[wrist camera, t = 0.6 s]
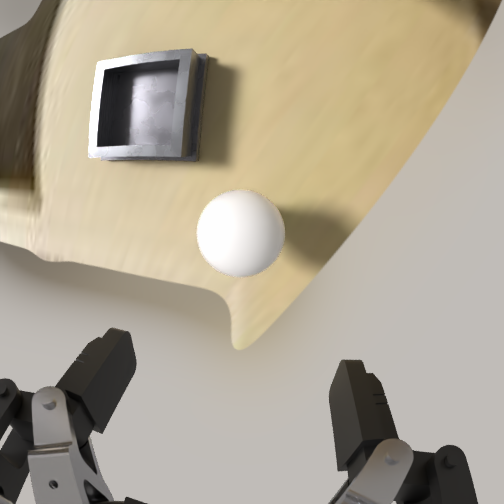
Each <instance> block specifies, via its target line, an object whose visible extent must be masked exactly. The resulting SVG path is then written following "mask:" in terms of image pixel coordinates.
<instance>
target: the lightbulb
mask: <svg viewBox="0 0 504 504" xmlns="http://www.w3.org/2000/svg"><path fill="white" fill-rule="evenodd" d="M284 240H285V226H284V222H283V218H282V216H281V214H280V212H279V210H278V209H277V207H276V206H275V205H274V203H273V202H272V201H270V200H269V199H268V198H267V197H265V196H264V195H262V194H260V193H258V192H255V191H252V190H246V189H236V190H230V191H227V192H224V193H222V194H220V195H218V196H217V197H215V198H214V199H212V200H211V201H210V202H209V203H208V204H207V206H206V207H205V208H204V210H203V211H202V213H201V215H200V218H199V221H198V225H197V242H198V246H199V249H200V252H201V254H202V256H203V257H204V259H205V260H206V261H207V263H208V264H209V265H210V266H211V267H213V268H214V269H215V270H217V271H218V272H220V273H222V274H224V275H227V276H231V277H237V278H244V277H251V276H254V275H257V274H260V273H262V272H263V271H265V270H266V269H268V268H269V267H270V266H271V265H272V264H273V263H274V262H275V261H276V260H277V258H278V257H279V255H280V253H281V251H282V248H283V245H284Z"/></svg>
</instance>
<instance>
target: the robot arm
mask: <svg viewBox="0 0 504 504" xmlns="http://www.w3.org/2000/svg"><path fill="white" fill-rule="evenodd" d="M135 370H136V356H135V352H134V348H133V343H132V339H131V335H130V333H129V332H128V331H124V330H120V329H116V328H110V329H109V330H108V331H107V332H106V333H105V335H104V336H103V337H102V338H100V337H98V338H96V339H95V340H93V341H91V342H90V343H88V344H87V346H86V347H85V348H84V349H83V351H82V353H81V354H80V355H79V356H78V357H77V358H76V361H74V363H72V365H71V366H70V367H69V369H68V370H67V371H66V373H65V374H64V375H63V377H62V378H61V379H60V381H59V382H58V383H57V385H56V386H55V387H53V386H47V387H44V388H41V389H40V390H39V391H37V392H36V393H31V392H25V391H20V390H19V389H18V388H17V386H16V384H15V383H14V382H13V381H12V380H10V379H0V440H1V438H2V436H3V435H4V433H5V431H6V430H7V428H8V426H9V425H11V426H12V428H13V429H12V431H11V432H10V434H9V436H8V438H7V440H6V441H5V443H4V445H3V447H2V448H1V450H0V504H16V501H17V498H18V496H19V494H20V492H21V489H22V487H23V484H24V482H25V480H26V478H27V476H28V473H29V471H30V476H31V482H32V487H33V492H34V497H35V501H36V504H147V503H143V502H140V501H138V500H134V499H132V498H129V497H126V498H125V501H114V499H113V497H112V494H111V492H110V490H109V489H108V486H107V485H106V483H105V482H104V480H103V478H102V475H101V472H100V469H99V466H98V462H97V459H96V456H95V452H94V449H93V445H92V441H91V438H90V434H91V432H92V430H94V431H96V432H99V433H101V434H103V432H104V430H105V428H106V426H107V424H108V422H109V420H110V418H111V416H112V414H113V412H114V410H115V408H116V407H117V405H118V403H119V401H120V399H121V397H122V395H123V394H124V392H125V390H126V387H127V386H128V384H129V382H130V380H131V378H132V377H133V375H134V373H135ZM329 403H330V411H331V418H332V426H333V433H334V442H335V450H336V458H337V469H338V471H348V479H347V480H346V481H345V482H344V484H343V485H342V486H341V488H340V489H339V490H338V492H337V493H336V494H335V496H334V497H333V498H332V499H331V500H330V502H329V503H328V504H391V503H392V502H393V501H396V503H397V504H478V502H477V497H476V493H475V489H474V485H473V481H472V477H471V473H470V470H469V466H468V463H467V460H466V456H465V454H464V452H463V451H462V450H461V449H460V448H458V447H457V446H454V445H446V446H443V447H441V448H440V449H439V450H438V451H437V452H436V453H429V452H419V451H414V450H412V449H411V447H410V446H409V445H408V444H407V443H406V442H404V441H402V440H400V439H399V438H398V435H397V431H396V428H395V425H394V421H393V418H392V415H391V411H390V408H389V405H387V403H388V402H387V399H386V396H385V393H384V390H383V387H382V384H381V382H380V381H379V380H378V379H377V377H376V376H375V375H374V374H373V373H366V370H365V367H364V364H363V362H362V360H341V362H340V364H339V367H338V369H337V371H336V374H335V377H334V379H333V382H332V384H331V387H330V392H329Z"/></svg>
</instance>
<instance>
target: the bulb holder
mask: <svg viewBox="0 0 504 504" xmlns="http://www.w3.org/2000/svg"><path fill="white" fill-rule="evenodd" d="M208 61H209V56H208V55H207V54H197V53H196V52H195V51H194V50H193V49H180V50H169V51H159V52H151V53H144V54H137V55H131V56H125V57H120V58H115V59H110V60H105V61H101V62H98V63H97V69H96V76H95V82H94V90H93V98H92V107H91V118H90V133H89V158H94V157H101V160H179V161H199V148H200V136H201V124H202V113H203V103H204V94H205V85H206V76H207V68H208Z"/></svg>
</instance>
